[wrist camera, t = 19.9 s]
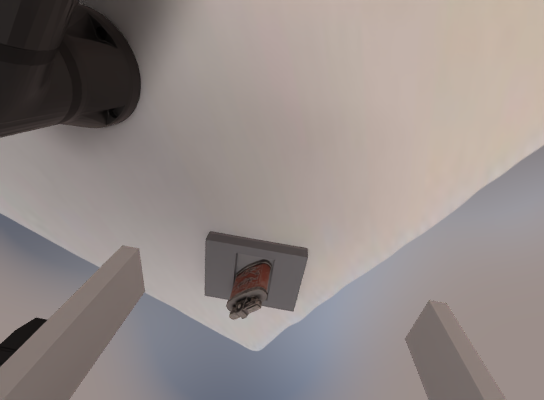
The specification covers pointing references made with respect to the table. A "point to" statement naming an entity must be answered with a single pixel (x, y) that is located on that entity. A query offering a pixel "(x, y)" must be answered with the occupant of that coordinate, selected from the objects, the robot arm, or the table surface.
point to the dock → (242, 251)
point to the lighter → (249, 289)
